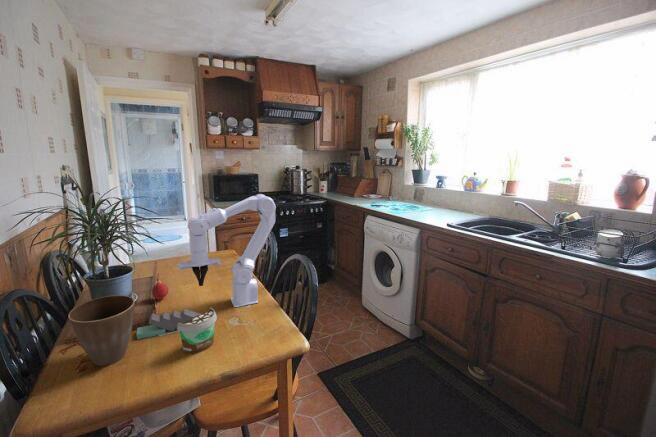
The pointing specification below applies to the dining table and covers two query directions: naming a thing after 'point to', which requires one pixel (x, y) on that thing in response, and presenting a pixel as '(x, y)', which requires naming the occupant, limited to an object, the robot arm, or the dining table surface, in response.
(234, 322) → the dining table surface
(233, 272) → the robot arm
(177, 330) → the coaster
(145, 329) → the domino
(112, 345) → the plant pot
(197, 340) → the food container
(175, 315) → the domino
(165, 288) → the onion
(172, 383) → the dining table surface
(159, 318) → the domino
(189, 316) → the domino
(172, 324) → the domino
